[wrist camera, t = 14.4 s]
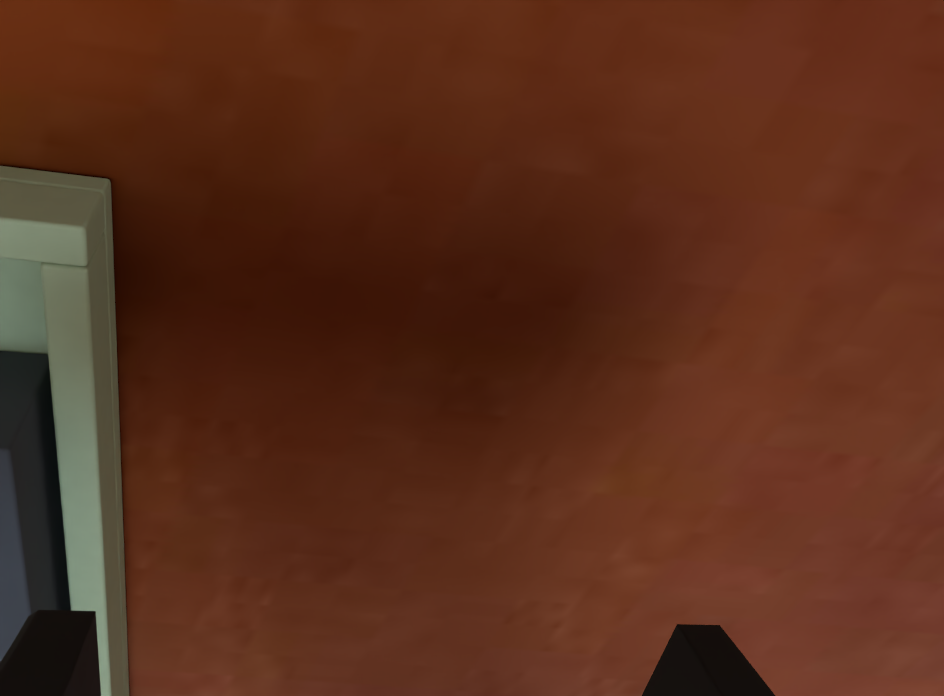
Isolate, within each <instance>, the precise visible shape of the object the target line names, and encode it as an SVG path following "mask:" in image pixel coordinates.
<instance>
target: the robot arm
mask: <svg viewBox="0 0 944 696" xmlns="http://www.w3.org/2000/svg"><path fill="white" fill-rule="evenodd" d="M0 696H101V686H100V671H99V656H98V640H97V625H96V611H70V610H37V611H36V612H34V613H33V614H31V615H29V616H28V618H27V619H26V621H25V623H24V624H23V626H22V628H21V630H20V631H19V633H18V635H17V636H16V638H15V640H14V641H13V643H12V645H11V646H10V648H9V649H8V651H7V653H6V654H5V656H4V657H3V659H2V661H1V662H0ZM642 696H775V695H774V694H773V692H772V691H771V690H770V688H769V687H768V686H767V685H766V683H765V682H764V681H763V680H762V678H761V677H760V676H759V674H758V673H757V672H756V671H755V669H754V668H753V667H752V666H751V664H750V663H749V662H748V660H747V659H746V658H745V657H744V655H743V654H742V653H741V652H740V650H739V649H738V648H737V647H736V645H735V644H734V643H733V641H732V640H731V639H730V638H729V637H728V635H727V634H726V633H725V632H724V630H723V629H722V628H721V627H720V625H681V624H677V626H676V628H675V630H674V632H673V634H672V636H671V638H670V640H669V642H668V644H667V646H666V648H665V650H664V652H663V654H662V656H661V658H660V660H659V662H658V664H657V666H656V668H655V670H654V672H653V674H652V676H651V678H650V680H649V682H648V684H647V686H646V688H645V690H644V692H643V694H642Z"/></svg>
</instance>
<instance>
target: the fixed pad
mask: <svg viewBox="0 0 944 696" xmlns="http://www.w3.org/2000/svg"><path fill="white" fill-rule="evenodd" d="M37 610H70V611H71V606H70V595H69V583H68V572H67V561H66V550H65V538H64V527H63V516H62V505H61V493H60V482H59V471H58V460H57V448H56V437H55V426H54V415H53V403H52V392H51V381H50V370H49V358H48V354H36V353H24V352H11V351H0V662H1V661H2V659H3V657H4V656H5V654H6V653H7V651H8V649H9V648H10V646H11V645H12V643H13V641H14V640H15V638H16V636H17V635H18V633H19V631H20V630H21V628H22V626H23V624H24V623H25V621H26V619H27V618H28V616H29V615H31V614H33V613H34V612H36V611H37Z"/></svg>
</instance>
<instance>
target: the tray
mask: <svg viewBox="0 0 944 696" xmlns="http://www.w3.org/2000/svg"><path fill="white" fill-rule="evenodd" d="M0 351H11V352H24V353H36V354H48V358H49V370H50V381H51V392H52V403H53V415H54V426H55V437H56V448H57V460H58V471H59V482H60V493H61V505H62V516H63V527H64V538H65V550H66V561H67V572H68V583H69V595H70V606H71V611H96V625H97V640H98V656H99V671H100V686H101V696H129V673H128V646H127V618H126V590H125V563H124V535H123V507H122V479H121V452H120V424H119V396H118V368H117V341H116V313H115V285H114V258H113V230H112V202H111V182H110V180H109V179H105V178H97V177H89V176H80V175H72V174H64V173H56V172H48V171H39V170H31V169H23V168H15V167H7V166H0Z"/></svg>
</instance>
